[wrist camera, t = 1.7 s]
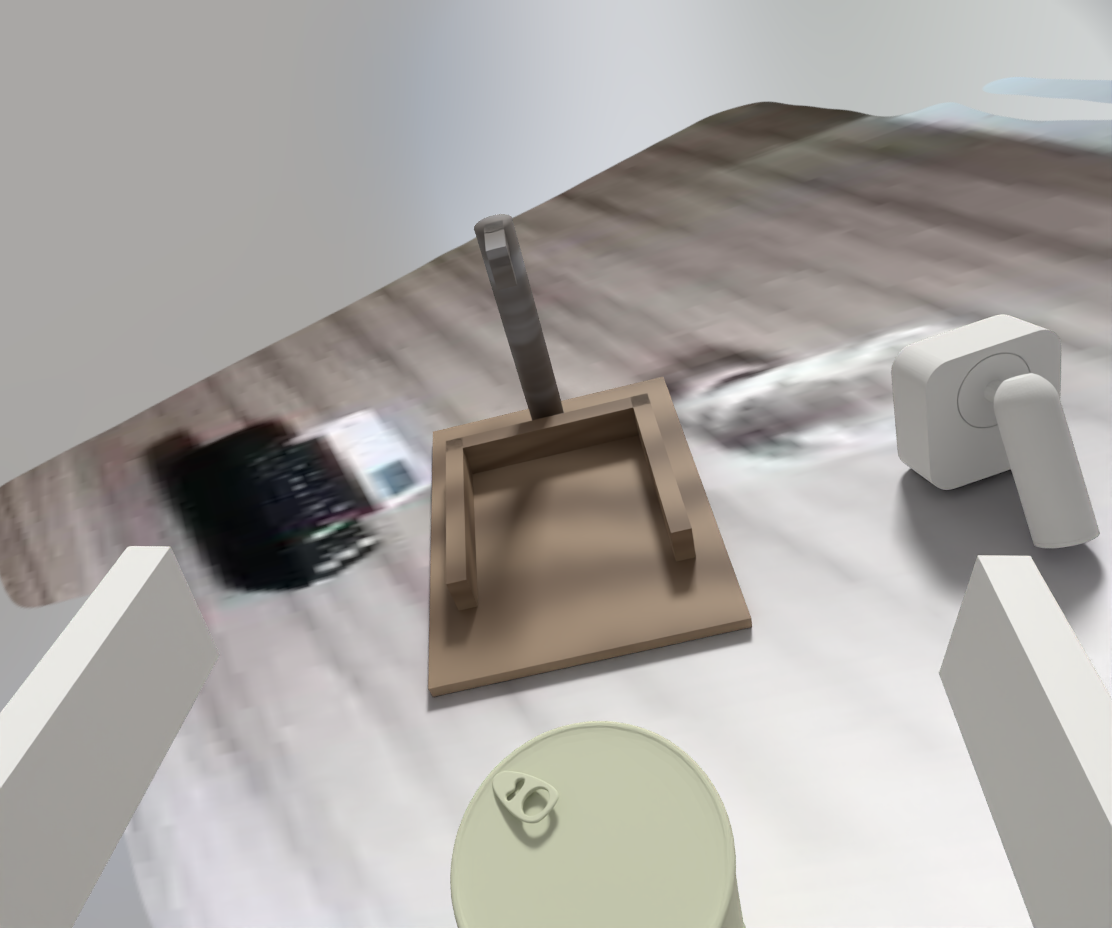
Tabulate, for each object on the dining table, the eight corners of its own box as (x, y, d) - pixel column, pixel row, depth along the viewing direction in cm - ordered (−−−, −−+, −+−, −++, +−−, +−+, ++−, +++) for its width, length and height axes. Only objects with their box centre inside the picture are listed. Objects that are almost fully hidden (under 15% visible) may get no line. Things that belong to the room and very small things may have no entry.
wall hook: (1014, 586, 41) (1013, 415, 37) (900, 496, 51) (888, 350, 46) (1156, 536, 42) (1173, 360, 37) (1018, 455, 51) (1018, 307, 47)
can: (619, 811, 38) (568, 668, 30) (800, 943, 32) (794, 808, 25) (486, 991, 33) (385, 878, 26) (668, 1178, 28) (610, 1106, 20)
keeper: (751, 627, 44) (729, 380, 33) (432, 696, 45) (308, 480, 34) (664, 385, 61) (630, 171, 50) (436, 439, 62) (354, 242, 51)
